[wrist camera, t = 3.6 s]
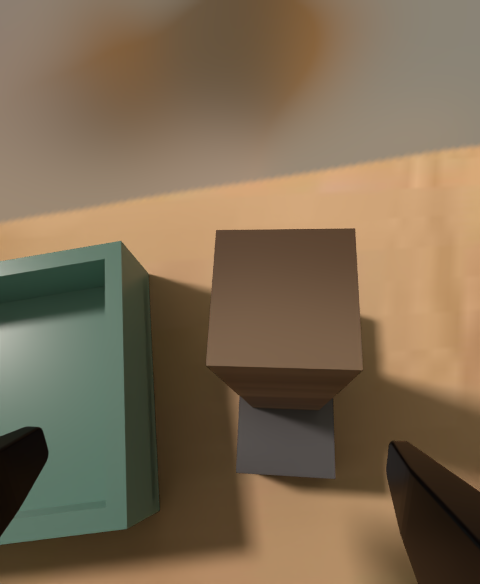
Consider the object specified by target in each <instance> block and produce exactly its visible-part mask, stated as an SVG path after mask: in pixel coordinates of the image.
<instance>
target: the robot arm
mask: <svg viewBox="0 0 480 584" xmlns="http://www.w3.org/2000/svg"><path fill="white" fill-rule="evenodd" d="M48 455H49V451H48V447H47V443H46V439H45V436H44V432H43V430H42V428H40V427H35V426H26V427H23V428H20V429H18V430H15V431H13V432H10V433H7V434H5V435H2V436H0V537H1V535H2V534H3V533H4V531H5V530H6V528H7V527H8V525H9V524H10V523H11V521H12V520H13V518H14V517H15V515H16V514H17V512H18V511H19V509H20V507H21V506H22V504H23V502H24V501H25V499H26V497H27V496H28V494H29V492H30V490H31V488H32V487H33V485H34V483H35V481H36V480H37V478H38V476H39V474H40V473H41V471H42V469H43V467H44V466H45V464H46V462H47V459H48ZM386 472H387V479H388V484H389V488H390V492H391V496H392V501H393V505H394V509H395V513H396V518H397V522H398V526H399V530H400V534H401V537H402V540H403V543H404V546H405V549H406V551H407V554H408V557H409V560H410V562H411V565H412V568H413V571H414V573H415V576H416V579H417V582H418V584H480V492H479V491H478V490H476V489H475V488H474V487H472V486H471V485H469V484H468V483H466V482H465V481H463V480H462V479H461V478H459V477H458V476H456V475H455V474H453V473H452V472H451V471H449V470H448V469H446V468H445V467H443V466H442V465H440V464H439V463H438V462H436V461H435V460H433V459H432V458H430V457H429V456H428V455H426V454H425V453H423V452H422V451H420V450H419V449H417V448H416V447H415V446H413V445H412V444H410V443H409V442H407V441H391V442H390V444H389V449H388V458H387V467H386Z"/></svg>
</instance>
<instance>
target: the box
mask: <svg viewBox="0 0 480 584" xmlns="http://www.w3.org/2000/svg"><path fill="white" fill-rule="evenodd" d="M26 426H35V427H40V428H42V430H43V432H44V436H45V439H46V443H47V447H48V451H49V455H48V459H47V462H46V464H45V466H44V467H43V469H42V471H41V473H40V474H39V476H38V478H37V480H36V481H35V483H34V485H33V487H32V488H31V490H30V492H29V494H28V496H27V497H26V499H25V501H24V502H23V504H22V506H21V507H20V509H19V511H18V512H17V514H16V515H15V517H14V518H13V520H12V521H11V523H10V524H9V525H8V527H7V528H6V530H5V531H4V533H3V534H2V535H1V537H0V545H2V544H10V543H18V542H26V541H34V540H42V539H50V538H58V537H66V536H74V535H82V534H90V533H98V532H106V531H114V530H122V529H128V528H130V527H131V526H133V525H135V524H137V523H139V522H140V521H142V520H144V519H146V518H147V517H149V516H151V515H153V514H155V513H156V512H158V511H160V506H159V485H158V464H157V443H156V422H155V400H154V379H153V358H152V337H151V316H150V295H149V274H148V272H147V271H146V270H145V269H144V268H143V267H142V265H141V264H140V263H139V262H138V261H137V259H136V258H135V257H134V256H133V255H132V253H131V252H130V251H129V250H128V249H127V248H126V246H125V245H124V244H123V243H122V242H121V241H118V242H112V243H106V244H100V245H94V246H88V247H83V248H77V249H71V250H65V251H59V252H53V253H47V254H41V255H35V256H29V257H24V258H18V259H12V260H6V261H0V436H2V435H5V434H7V433H10V432H13V431H15V430H18V429H20V428H23V427H26Z"/></svg>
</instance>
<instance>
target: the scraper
mask: <svg viewBox="0 0 480 584" xmlns="http://www.w3.org/2000/svg"><path fill="white" fill-rule="evenodd" d="M206 366H207V367H208V368H209V369H210V370H211V371H213V372H214V373H215V374H216V375H217V376H218V377H219V378H220V379H221V380H223V381H224V382H225V383H226V384H227V385H228V386H229V387H230V388H231V389H233V390H234V391H235V392H236V393H237V394H238V395H239V396H240V400H239V421H238V442H237V463H236V473H248V474H264V475H281V476H297V477H313V478H329V479H335V448H334V415H333V397H334V396H335V395H336V394H338V393H339V392H340V391H341V390H342V389H343V388H344V387H345V386H346V385H347V384H348V383H350V382H351V381H352V380H353V379H354V378H355V377H356V376H357V375H358V374H359V373H361V372H362V371H363V361H362V343H361V325H360V308H359V290H358V273H357V255H356V237H355V229H279V230H216V240H215V253H214V266H213V279H212V292H211V305H210V318H209V331H208V344H207V357H206Z"/></svg>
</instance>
